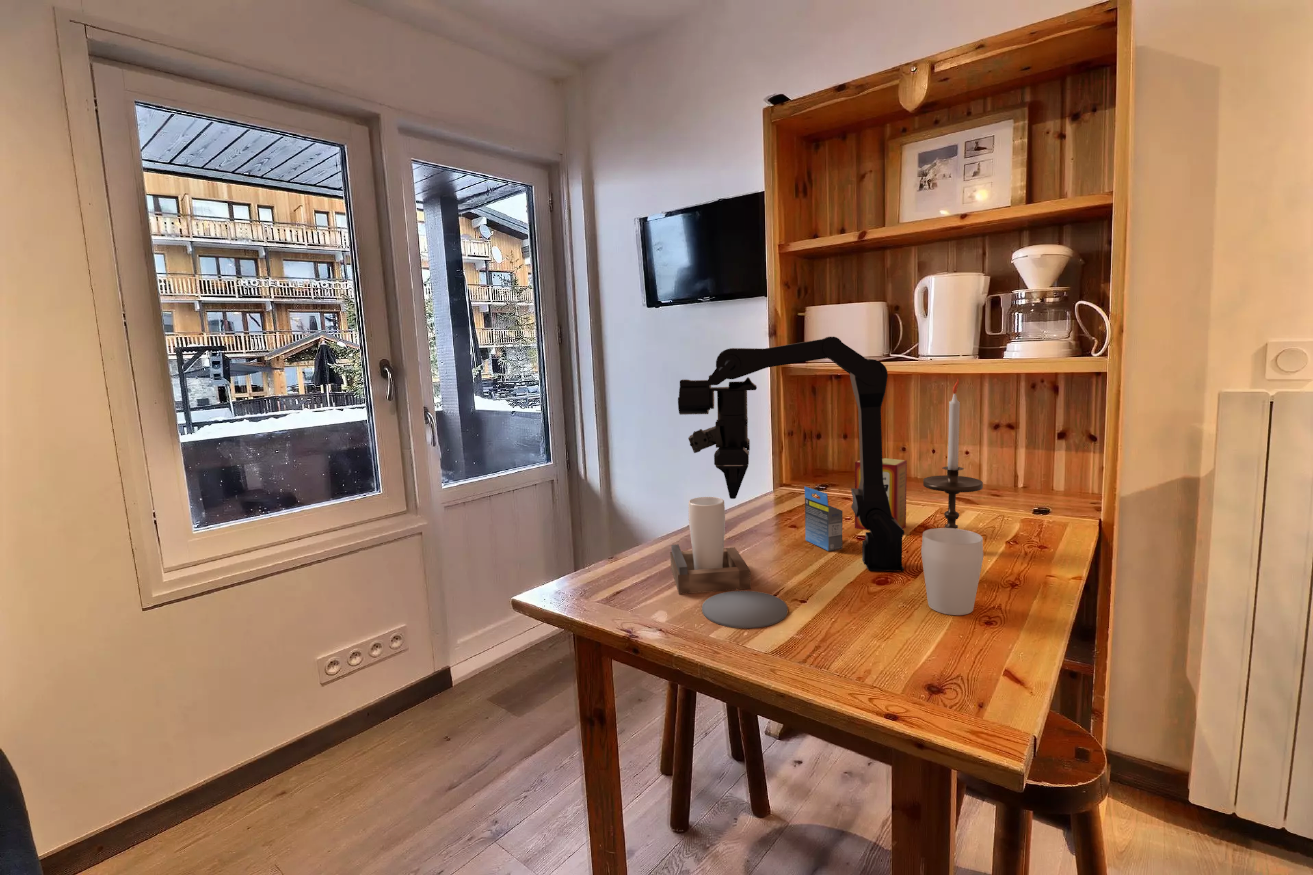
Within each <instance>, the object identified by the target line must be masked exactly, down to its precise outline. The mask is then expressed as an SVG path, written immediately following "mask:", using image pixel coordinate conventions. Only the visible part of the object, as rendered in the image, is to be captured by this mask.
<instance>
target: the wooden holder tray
mask: <svg viewBox="0 0 1313 875" xmlns="http://www.w3.org/2000/svg"><path fill="white" fill-rule="evenodd" d="M669 554H670V555H669V556H670V558H669V559H670V571H671V575H672V576H673V577H672V578H673V580H674V583H675V585H676V589H677V593H678V595H681V594H682V593H684V594H692V593H693V594H696V593H697V594H698V593H707V592H708V593H710V592H721V591H724V592H725V591H737V590H736V589H738V590H751V583H752V582H751V569H750V568H749V566H748V564H747V563H746V562H745V560H744V559H743V557H742V556H741V554H740V553H739V551H738V549H737V548H736V547H733V546H732V547H724V551H723V568H714V569H700V570H694V561H693V552H692V549H690V550H681V547H680V544H671V551H670V552H669Z"/></svg>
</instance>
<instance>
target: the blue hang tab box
mask: <svg viewBox="0 0 1313 875" xmlns="http://www.w3.org/2000/svg"><path fill="white" fill-rule="evenodd" d="M803 487H804V488H803V489H804V516H805V517H804V518H805V519H804V522H805V523H804V526H805V528H804V529H805V534H804V535H805V536H804V537H805V542H808V543H811V544H813V545H815V546H817V547H819V548H821V549H823V550H825V551H826V552H833V551H838V550H843V513H844V512H843V510H842V509H839V508H837V507H834V506H832V505H829V499H828V493H826V492H823V491H820V490H817V489H814V488H811V487H808V486H806V485H804V486H803ZM813 495H814V496H813ZM815 495H816V496H817V497H816V496H815ZM818 497H819V498H818Z"/></svg>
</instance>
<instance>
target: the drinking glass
mask: <svg viewBox="0 0 1313 875" xmlns="http://www.w3.org/2000/svg"><path fill="white" fill-rule="evenodd" d="M688 525H689V528H688V529H689V534H690V535H689V536H690V542H691V550H692V552H693V561H694V570H700V569H714V568H723V551H724V548H725V547H724V546H725V533H726V531H725V530H726V508H725V500H724V499H723V498H721V497H716V496H700V497H699V496H698V497H694V498H691V499H690V500H688Z"/></svg>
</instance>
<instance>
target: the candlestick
mask: <svg viewBox="0 0 1313 875" xmlns="http://www.w3.org/2000/svg"><path fill="white" fill-rule="evenodd" d="M959 384H960V380H959V378H957V380H956V382H955V384H954V385H953V387H952V398H951V400H949V403H948V404H949V406H948V407H949V408H948V443H947V444H948V445H947V446H948V448H947V466H943V467H941V468H942V469H943V470H946V475H944V474H943V475H933V476H932V475H931V476H927V477H924V478H923V480H922V481H923V484H922V485H923V487H924V488H926V489H929V490H933V491H937V492H944V493H945V494H948V502H947V503H948V507H947V510H945V511H944V513H943V516H944V518H945V519H947V521H946V523H945V524H944V528H955V529H959V525H957V524H956V523H957V520H958V519H959V517H960V513H959V512H958V511H956V507H957V506H956V505H957V504H956V503H957V502H956V500H957V495H958V494H959V495H960V493H974V492H977V491H978V492H979V491H982V490H983V488H984V487H983V486H984V482H983V481H982V480H980V479H978V478H976V477H975V478H974V477H970V476H965V475H964V476H963V475H959V471H963V470H965V468H964V467H961V466H959V448H960V447H959V444H960V442H959V441H960V440H959V438H960V437H959V436H960V408H961V405H960V404H961V402H960V401H959V400H958V397H957V392H958V386H959Z"/></svg>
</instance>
